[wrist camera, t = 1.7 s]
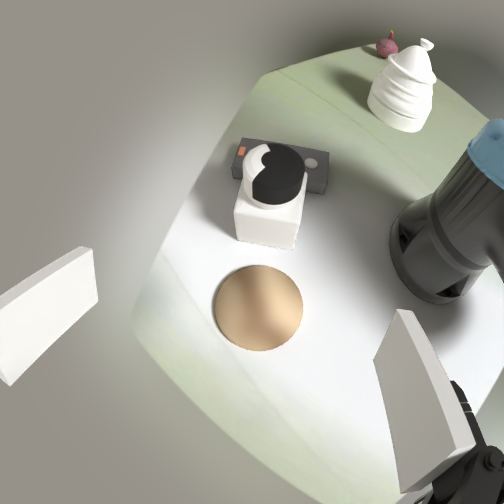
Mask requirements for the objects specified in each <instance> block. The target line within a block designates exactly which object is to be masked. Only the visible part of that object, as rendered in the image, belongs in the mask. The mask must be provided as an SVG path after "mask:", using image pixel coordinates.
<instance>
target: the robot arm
mask: <svg viewBox="0 0 504 504" xmlns="http://www.w3.org/2000/svg"><path fill="white" fill-rule="evenodd" d="M390 251H391V256H392V260H393V263H394V266H395V268H396V270H397V272H398V274H399V276H400V278H401V279H402V281H403V282H404V283H405V285H406V286H407V287H408V288H409V289H410V290H411V291H412V292H413V293H414V294H415V295H417V296H418V297H419V298H421V299H423V300H425V301H427V302H430V303H434V304H445V303H449V302H451V301H454V300H456V299H458V298H460V297H461V296H463V295H464V294H465V293H466V292H467V291H468V290H469V289H470V288H471V287H472V285H473V284H474V283H475V281H476V280H477V279H478V277H479V276H480V275H481V273H482V272H483V270H484V269H485V268H486V267H488V266H490V265H491V264H493V265H494V266H495V268H496V270H497V272H498V273H499V275H500V277H501V279H502V281H503V283H504V119H493V120H491V121H489V122H487V123H486V124H485V126H484V127H483V128H482V129H481V131H480V132H479V133H478V134H477V136H476V137H475V138H474V139H472V140H471V141H470V142H469V143H468V147H467V149H466V151H465V152H464V153H463V155H462V156H461V158H460V159H459V160H458V162H457V163H456V165H455V166H454V167H453V169H452V170H451V171H450V173H449V174H448V175H447V176H446V178H445V179H444V180H443V182H442V183H441V184H440V186H439V187H438V188H437V189H436V191H435V192H434V193H432V194H430V195H428V196H426V197H424V198H421V199H419V200H417V201H415V202H413V203H411V204H410V205H408V206H407V207H406V208H405V209H404V210H403V211H402V212H401V213H400V215H399V216H398V217H397V219H396V220H395V222H394V224H393V226H392V229H391V233H390ZM97 302H98V296H97V288H96V280H95V272H94V262H93V251H92V249H90V248H86V247H82V246H80V247H78V248H76V249H74V250H73V251H71V252H69V253H67V254H66V255H64V256H62V257H61V258H59V259H57V260H56V261H54V262H53V263H51V264H49V265H47V266H46V267H44V268H42V269H41V270H39V271H37V272H36V273H34V274H33V275H31V276H29V277H28V278H26V279H25V280H23V281H22V282H20V283H19V284H17V285H16V286H14V287H13V288H11V289H10V290H8V291H7V292H5V293H4V294H2V295H1V296H0V378H1V379H2V380H3V381H4V382H5V383H6V384H8V385H9V386H11V385H12V384H13V383H14V382H15V381H16V380H17V379H18V378H19V377H20V375H21V374H23V372H24V371H25V370H26V369H27V368H28V367H29V366H30V365H31V364H32V363H33V362H34V361H35V360H36V359H37V358H38V357H39V356H40V355H41V354H42V353H43V352H44V351H45V350H46V349H47V348H48V347H49V346H50V345H51V344H53V343H54V342H55V341H56V340H57V339H58V338H59V337H60V336H61V335H62V334H63V333H64V332H65V331H66V330H67V329H68V328H69V327H70V326H71V325H72V324H74V323H75V322H76V321H77V320H78V319H79V318H80V317H81V316H82V315H83V314H84V313H86V312H87V311H88V310H89V309H90V308H91V307H92V306H93V305H95V304H96V303H97ZM373 361H374V365H375V369H376V372H377V376H378V380H379V384H380V388H381V392H382V396H383V400H384V405H385V409H386V414H387V418H388V423H389V428H390V433H391V438H392V443H393V448H394V454H395V460H396V466H397V472H398V479H399V486H400V493H401V494H402V493H408V492H414V491H419V490H421V489H423V488H424V487H425V486H427V485H428V484H430V483H431V482H432V486H433V489H432V490H430V491H429V492H427V493H426V494H425V495H423V496H421V497H420V498H418V499H417V500H416V501H415V502H414V504H418V503H419V502H421V501H423V500H424V501H423V502H422V504H503V503H504V454H503V453H502V451H501V450H499V449H498V448H497V447H494V446H487V445H486V443H485V441H484V438H483V436H482V433H481V431H480V428H479V426H478V423H477V421H476V419H475V416H474V414H473V413H472V412H471V411H472V409H471V407H470V405H469V404H468V403H467V402H468V401H467V399H466V396H465V394H464V392H463V390H462V389H461V388H460V387H459V386H458V385H457V384H456V382H455V381H449V378H448V376H447V374H446V372H445V370H444V368H443V366H442V364H441V362H440V360H439V358H438V356H437V355H436V353H435V351H434V349H433V347H432V345H431V343H430V341H429V340H428V338H427V336H426V334H425V332H424V330H423V329H422V327H421V325H420V323H419V322H418V320H417V318H416V316H415V315H414V313H413V311H410V310H403V309H396V312H395V314H394V316H393V319H392V321H391V323H390V326H389V328H388V330H387V332H386V335H385V337H384V339H383V341H382V343H381V345H380V347H379V349H378V351H377V353H376V355H375V357H374V359H373Z"/></svg>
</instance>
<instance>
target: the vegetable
mask: <svg viewBox="0 0 504 504" xmlns="http://www.w3.org/2000/svg"><path fill="white" fill-rule="evenodd" d="M390 32H391V33H390V37H389V38H388V39H381V40H379V41H378V42H377V44H376V48H377V51H378V52H379V54H380V55H381V56H382V57H383V58H388V56H389V55H390V54H397V53H398V48H397V46H396V44H395V43H394V42H393V35H394V33H393V31H392V30H391V31H390Z"/></svg>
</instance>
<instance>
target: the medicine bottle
mask: <svg viewBox="0 0 504 504" xmlns="http://www.w3.org/2000/svg"><path fill="white" fill-rule="evenodd" d="M306 183H307V173H306V172H305V164H304V161H303V159H302V157H301V156H300V155H299V154H298V153H297V152H296V151H295V150H293V149H292V148H290V147H288V146H286V145H283V144H278V143H267V144H262V145H259V146H257V147H255V148H254V149H252V150H251V151H250V152H248V154H247V155H246V156H245V158H244V160H243V179H242V182H241V186H240V189H239V192H238V196H237V199H236V202H235V206H234V209H233V215H234V221H235V228H236V235H237V239H238V240H239V241H243V242H248V243H253V244H259V245H264V246H269V247H274V248H280V249H285V250H290V251H291V250H293V248H294V245H295V241H296V238H297V234H298V231H299V227H300V223H301V217H302V211H303V204H304V197H305V190H306Z"/></svg>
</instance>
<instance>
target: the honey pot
mask: <svg viewBox="0 0 504 504" xmlns="http://www.w3.org/2000/svg"><path fill="white" fill-rule="evenodd" d="M421 46H422V47H420V46H410V47H408V48H406V49H404V50H403V51H401V52H400V53H399V54H390V55H389V56H388V61H389V63H388V65H387V66H385V67H384V68H383V69H382V71H381V72H380V73H379V75H378V76H376V77H375V78H374V80H373V84H372V86H371V89H370V93H369V96H368V99H367V104H368V107H369V108H370V110H371V111H372V113H373V114H374V115H375V116H376V117H377V118H379V119H380V120H381V121H383V122H384V123H386V124H388V125H389V126H391V127H393V128H396V129H398V130H401V131H405V132H417V131H419V130H420V129H421V128H422V126H423V125H424V123H425V121H426V119H427V117H428V115H429V113H430V111H431V107H432V106H431V101H432V95H433V91H432V84H434V83H435V82H436V77H435V75H434V73H433V72H432V69H431V63H430V60H429V57H428V54H427V52H426V51H428V50H431V49H432V48H433V46H434V45H433V44H432V43H431V42H430V41H428V40H425V39H421Z"/></svg>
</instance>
